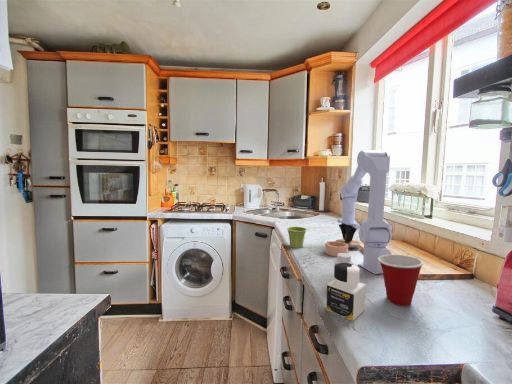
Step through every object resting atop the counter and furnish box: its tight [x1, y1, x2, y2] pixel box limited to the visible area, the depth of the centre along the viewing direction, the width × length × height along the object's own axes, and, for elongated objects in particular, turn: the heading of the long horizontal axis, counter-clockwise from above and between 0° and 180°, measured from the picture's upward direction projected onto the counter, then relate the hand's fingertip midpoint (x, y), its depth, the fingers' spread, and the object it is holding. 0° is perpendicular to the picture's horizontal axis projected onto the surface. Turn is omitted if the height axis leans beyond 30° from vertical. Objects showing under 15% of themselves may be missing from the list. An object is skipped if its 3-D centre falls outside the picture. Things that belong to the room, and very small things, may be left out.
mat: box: [348, 246, 362, 252], centre depth 117 cm, size 12×12×1 cm
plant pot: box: [286, 226, 307, 249], centre depth 119 cm, size 9×9×9 cm
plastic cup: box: [378, 254, 424, 307], centre depth 69 cm, size 11×11×12 cm
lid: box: [335, 233, 361, 247], centre depth 117 cm, size 11×11×5 cm
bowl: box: [324, 240, 349, 258], centre depth 108 cm, size 9×9×4 cm
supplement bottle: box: [333, 253, 354, 267], centre depth 77 cm, size 6×6×10 cm
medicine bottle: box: [326, 263, 366, 322], centre depth 64 cm, size 7×7×12 cm
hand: (347, 240), depth 117 cm, fingers closed on lid, 3 cm apart
